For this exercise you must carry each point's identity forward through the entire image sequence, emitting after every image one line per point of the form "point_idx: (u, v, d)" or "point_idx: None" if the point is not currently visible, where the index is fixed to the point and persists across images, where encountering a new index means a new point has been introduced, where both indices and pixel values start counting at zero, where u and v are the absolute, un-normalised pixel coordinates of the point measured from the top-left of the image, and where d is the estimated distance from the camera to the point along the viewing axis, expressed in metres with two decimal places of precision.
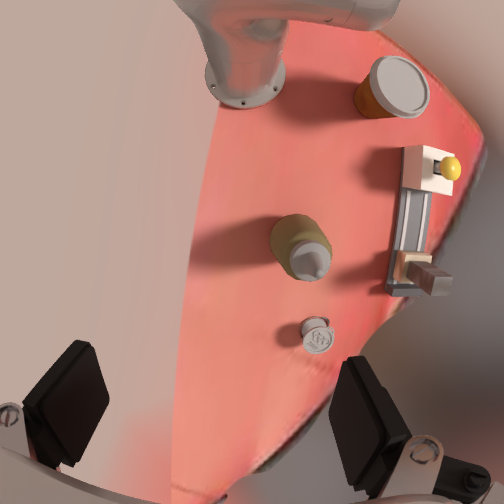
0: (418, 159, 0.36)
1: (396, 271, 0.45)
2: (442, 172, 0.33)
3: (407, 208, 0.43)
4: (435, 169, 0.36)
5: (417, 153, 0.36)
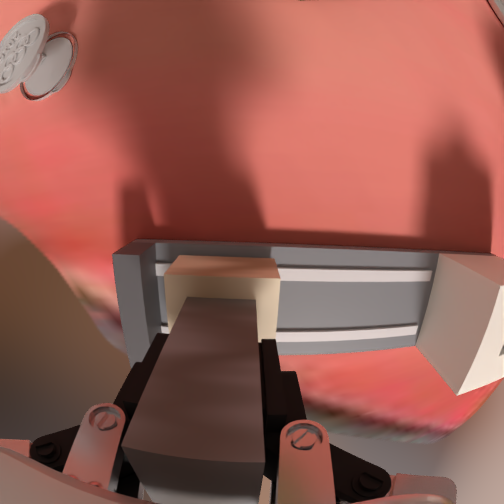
0: None
1: (201, 261, 0.14)
2: None
3: (392, 276, 0.15)
4: None
5: None
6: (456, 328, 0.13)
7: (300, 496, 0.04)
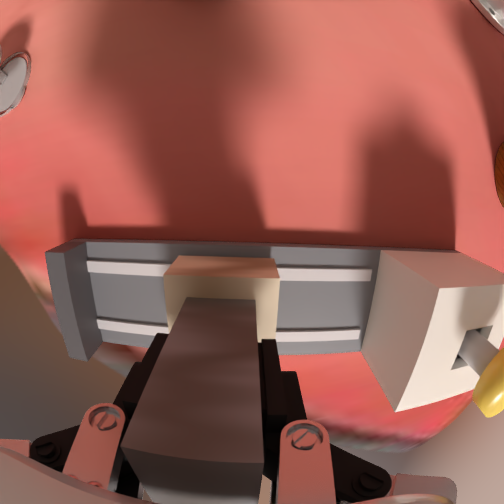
0: (486, 276, 0.11)
1: (200, 261, 0.14)
2: None
3: (321, 275, 0.15)
4: (472, 336, 0.10)
5: (491, 273, 0.11)
6: (395, 335, 0.13)
7: (300, 496, 0.04)
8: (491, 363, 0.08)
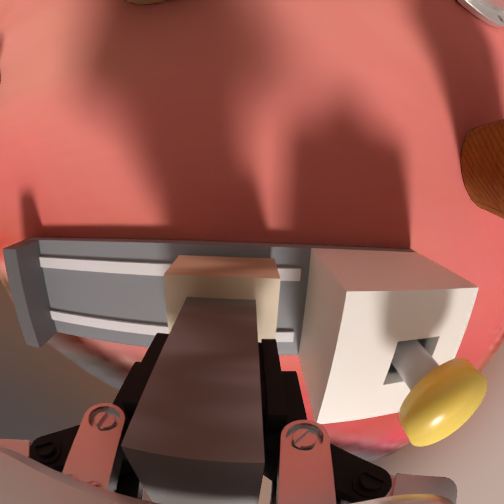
0: (430, 278, 0.11)
1: (201, 261, 0.14)
2: (440, 375, 0.07)
3: None
4: (409, 349, 0.10)
5: (440, 275, 0.11)
6: (317, 341, 0.13)
7: (301, 496, 0.04)
8: (418, 385, 0.08)
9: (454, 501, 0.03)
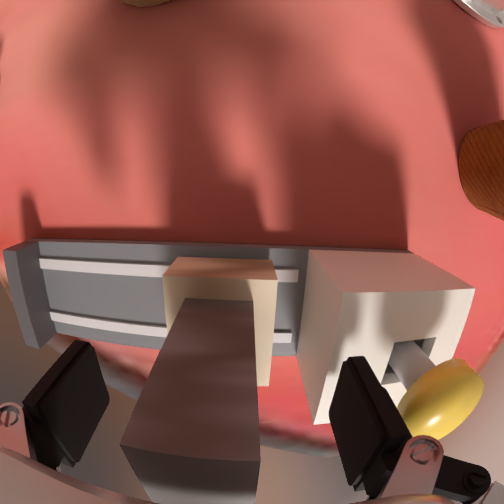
0: (427, 279, 0.11)
1: (199, 262, 0.14)
2: (436, 376, 0.07)
3: None
4: (405, 349, 0.10)
5: (437, 276, 0.11)
6: (315, 342, 0.13)
7: None
8: (414, 385, 0.08)
9: None
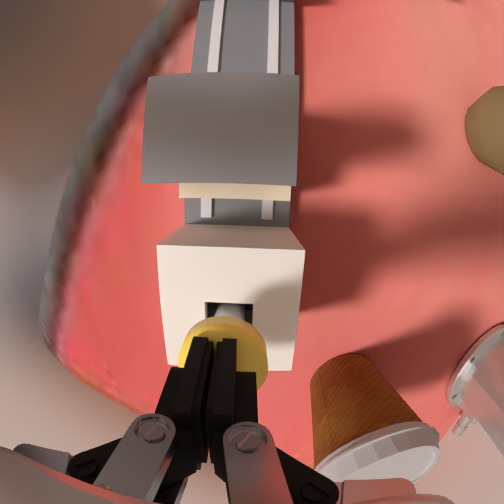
0: None
1: None
2: (261, 341, 0.11)
3: None
4: (242, 317, 0.14)
5: None
6: (230, 236, 0.15)
7: (231, 499, 0.04)
8: (248, 324, 0.11)
9: None
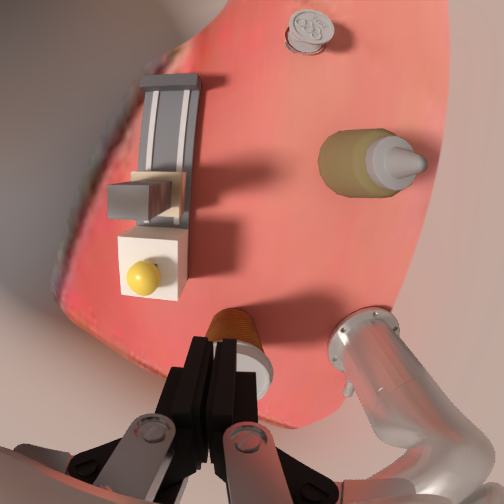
0: (179, 277, 0.31)
1: (184, 183, 0.32)
2: (157, 270, 0.28)
3: None
4: None
5: (180, 284, 0.32)
6: (152, 233, 0.31)
7: (231, 499, 0.04)
8: (152, 264, 0.29)
9: None
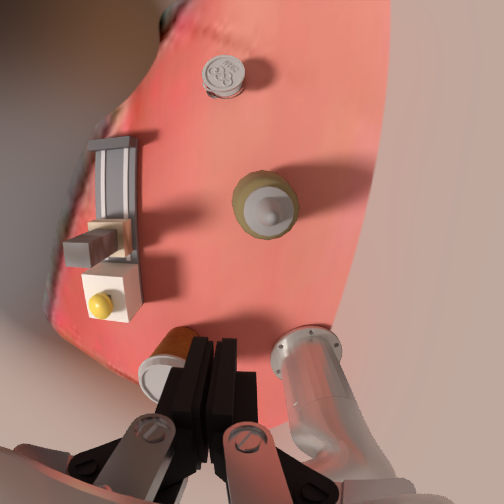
0: (129, 304, 0.38)
1: (128, 229, 0.38)
2: (109, 300, 0.35)
3: None
4: None
5: (131, 309, 0.38)
6: (107, 270, 0.37)
7: (231, 499, 0.04)
8: (106, 295, 0.35)
9: None
